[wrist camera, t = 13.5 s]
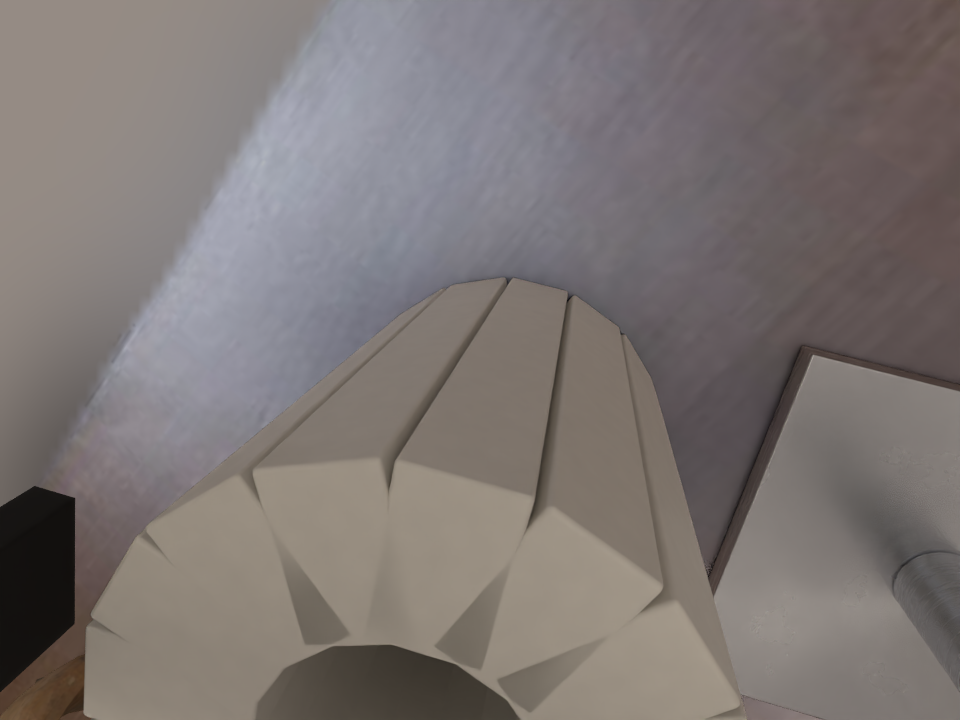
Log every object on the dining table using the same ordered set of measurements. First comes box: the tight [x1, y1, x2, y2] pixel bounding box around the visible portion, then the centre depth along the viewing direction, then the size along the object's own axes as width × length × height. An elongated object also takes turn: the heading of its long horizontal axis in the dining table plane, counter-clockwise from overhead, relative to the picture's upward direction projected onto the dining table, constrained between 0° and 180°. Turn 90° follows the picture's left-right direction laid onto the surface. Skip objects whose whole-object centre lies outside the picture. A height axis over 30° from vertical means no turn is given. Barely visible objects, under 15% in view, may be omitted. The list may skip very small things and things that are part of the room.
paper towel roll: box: [84, 277, 747, 720], centre depth 16 cm, size 10×10×13 cm
